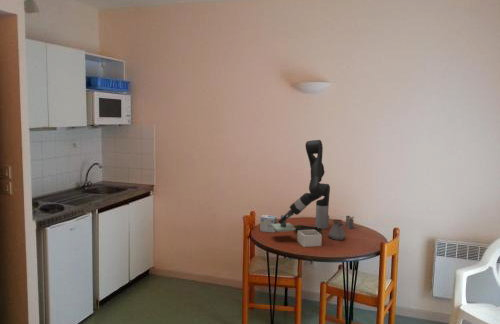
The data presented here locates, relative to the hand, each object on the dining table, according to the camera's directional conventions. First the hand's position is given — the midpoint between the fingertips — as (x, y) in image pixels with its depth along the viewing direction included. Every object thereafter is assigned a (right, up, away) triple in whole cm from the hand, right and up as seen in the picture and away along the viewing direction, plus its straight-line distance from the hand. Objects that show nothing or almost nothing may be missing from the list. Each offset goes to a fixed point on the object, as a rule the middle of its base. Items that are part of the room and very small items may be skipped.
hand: (280, 222), depth 265 cm
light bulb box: (-7, -10, +21) cm, 24 cm away
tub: (+18, -13, -8) cm, 24 cm away
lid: (+2, -5, 0) cm, 5 cm away
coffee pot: (+39, -13, 0) cm, 41 cm away
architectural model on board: (+55, -10, +35) cm, 66 cm away
